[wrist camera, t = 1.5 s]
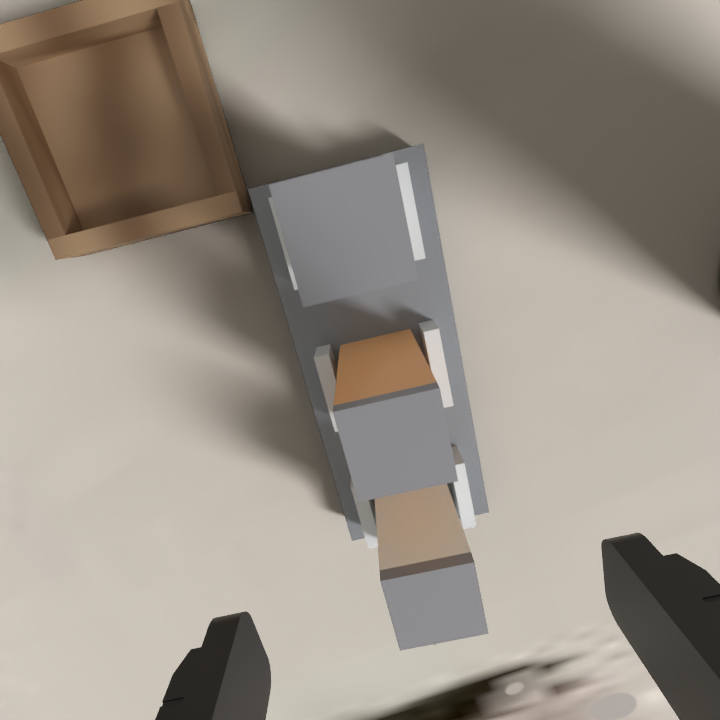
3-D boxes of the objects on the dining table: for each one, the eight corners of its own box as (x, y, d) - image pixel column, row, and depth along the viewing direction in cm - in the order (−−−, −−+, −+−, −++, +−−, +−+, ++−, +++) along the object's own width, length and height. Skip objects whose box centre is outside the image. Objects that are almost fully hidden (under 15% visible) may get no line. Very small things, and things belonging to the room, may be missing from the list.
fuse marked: (410, 328, 25) (439, 388, 16) (423, 393, 26) (458, 481, 17) (340, 345, 25) (332, 411, 16) (356, 408, 26) (358, 502, 18)
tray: (190, 1, 22) (169, -26, 19) (253, 212, 25) (242, 211, 22) (-1, 56, 22) (-43, 36, 20) (83, 255, 25) (55, 259, 23)
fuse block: (417, 149, 24) (468, 95, 13) (480, 493, 30) (547, 639, 20) (256, 191, 24) (181, 171, 14) (352, 520, 31) (351, 676, 20)
